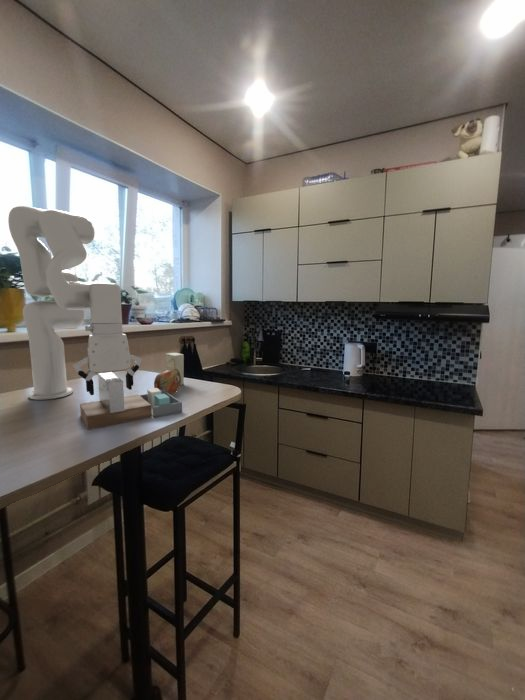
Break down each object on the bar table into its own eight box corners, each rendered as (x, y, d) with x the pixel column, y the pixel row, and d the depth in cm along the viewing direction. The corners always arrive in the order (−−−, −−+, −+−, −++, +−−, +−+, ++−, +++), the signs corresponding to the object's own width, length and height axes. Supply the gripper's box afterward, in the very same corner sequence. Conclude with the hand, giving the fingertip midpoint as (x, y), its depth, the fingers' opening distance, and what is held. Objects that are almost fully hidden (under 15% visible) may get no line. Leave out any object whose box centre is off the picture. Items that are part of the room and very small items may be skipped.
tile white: (147, 389, 102) (156, 387, 104) (147, 402, 103) (157, 401, 104) (151, 392, 98) (161, 391, 100) (151, 406, 99) (161, 405, 101)
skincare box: (165, 383, 127) (164, 353, 125) (175, 381, 130) (175, 352, 128) (174, 387, 123) (173, 355, 121) (184, 384, 126) (184, 354, 124)
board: (80, 415, 92) (79, 403, 91) (138, 405, 101) (138, 394, 101) (88, 429, 82) (87, 416, 82) (151, 416, 92) (151, 405, 91)
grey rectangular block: (110, 413, 84) (108, 383, 83) (99, 399, 95) (97, 372, 94) (124, 410, 86) (123, 381, 85) (112, 397, 97) (110, 371, 96)
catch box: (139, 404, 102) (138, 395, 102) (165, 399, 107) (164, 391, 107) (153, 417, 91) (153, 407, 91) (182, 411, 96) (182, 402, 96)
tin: (161, 401, 106) (160, 375, 105) (152, 400, 107) (151, 375, 106) (181, 388, 121) (181, 366, 119) (174, 388, 121) (173, 366, 120)
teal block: (154, 395, 96) (164, 393, 97) (154, 409, 96) (164, 407, 98) (159, 399, 92) (169, 397, 94) (159, 414, 93) (170, 412, 94)
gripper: (72, 332, 79) (77, 400, 82) (144, 329, 89) (146, 389, 92) (68, 329, 85) (73, 392, 88) (136, 327, 95) (138, 383, 98)
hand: (110, 391), depth 90 cm, fingers open, 9 cm apart
